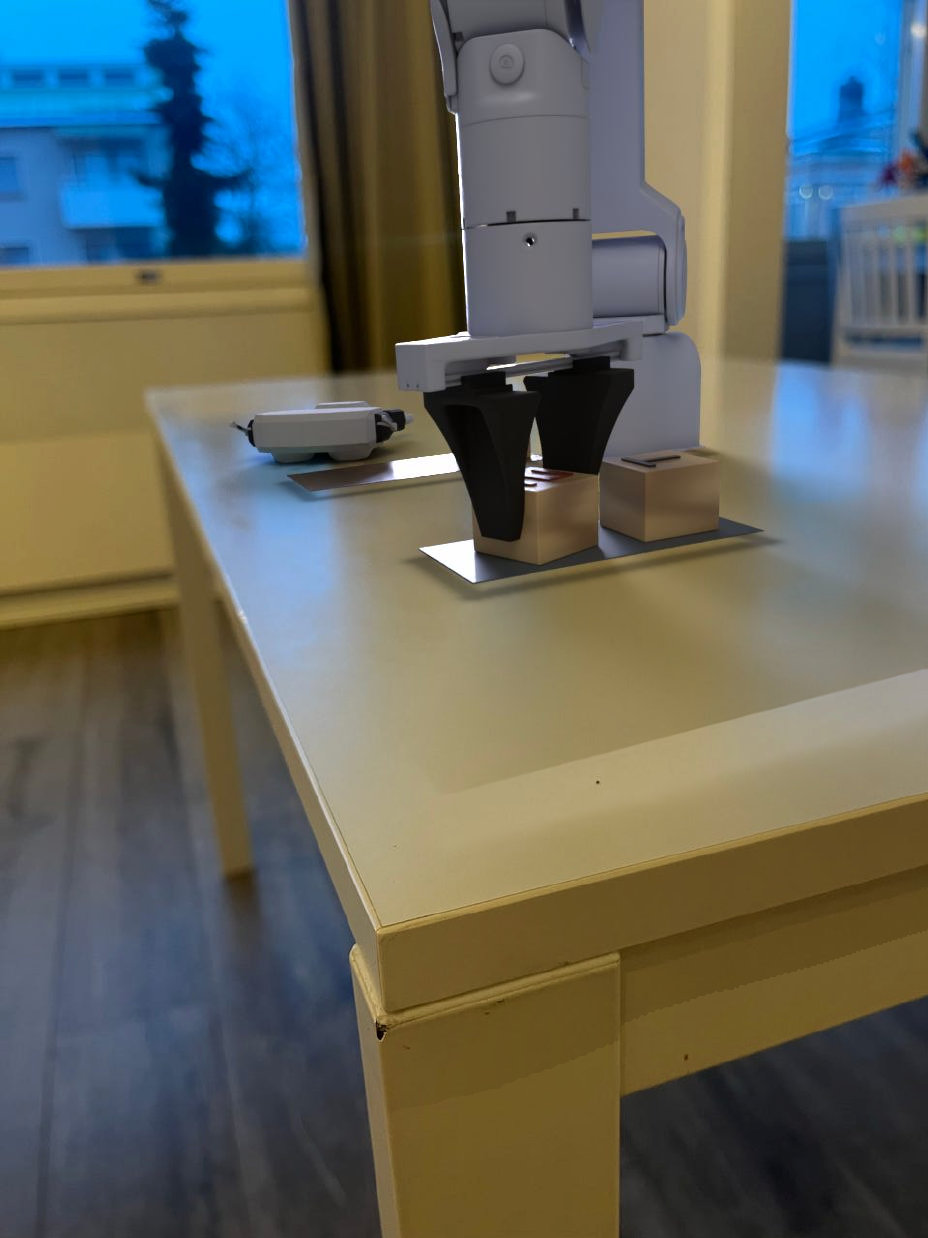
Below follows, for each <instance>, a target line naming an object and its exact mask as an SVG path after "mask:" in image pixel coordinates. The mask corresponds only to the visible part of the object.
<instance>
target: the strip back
mask: <svg viewBox="0 0 928 1238" xmlns="http://www.w3.org/2000/svg"><path fill="white" fill-rule="evenodd" d="M539 461H542V455H537V454H535V453H531V457H529V458H527V459H526V463H533V462H539ZM458 472H461V471H460V469H459V467H458V464H457V462H456V460H455V458H454V456H453V453H448V454H447V453H446V454H440V455H432V456H423V457H417V458H409V459H400V460H393V461H385V462H377V463H370V464H369V463H368V464H363V465H362V464H361V465H354V466H353V465H352V466H347V467H339V468H338V467H337V468H329V469H324V470H316V471H308V472H300V473H290V474H286V477H287V478H289V479H291V480H292V481H293V482H294V483H296V484H298V485H300V487H302V488H304V489H305V490H307V491H308V492H310V493H311V492H319V491H326V490H335V489H341V488H348V487H355V486H356V487H357V486H364V485H371V484H378V483H384V482H385V483H386V482H392V481H400V480H408V479H415V478H421V477H423V478H424V477H428V476H429V477H431V476H437V475H444V474H451V473H458Z"/></svg>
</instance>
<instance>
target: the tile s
mask: <svg viewBox="0 0 928 1238" xmlns="http://www.w3.org/2000/svg"><path fill="white" fill-rule="evenodd" d="M470 505H471V522H472V523H471V524H472V540H473V544H474V551H476V552H480V553H485V554H489V555H494V556H498V557H503V558H507V559H512V560H516V561H521V562H525V563H530V564H534V565H539V566H540V565H543V564H546V563H549V562H551V561H554V560H557V559H560V558H563V557H566V556H569V555H572V554H575V553H577V552H580V551H583V550H586V549H589V548H592V547H595V546H598V545H599V519H600V512H599V475H598V476H597V475H591V474H584V473H576V472H568V471H560V470H552V469H544V468H543V467H537V466H529V467H525V510H524V520H523V527H522V533H521V538H520V539H519V540H516V541H513V542H506V541H501V540H496V539H492V538H487V537H482V536H481V533H480V529H479V526H478V523H477V519H476V516H475V513H474V509H473V506H472V503H471V502H470Z"/></svg>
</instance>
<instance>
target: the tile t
mask: <svg viewBox="0 0 928 1238" xmlns="http://www.w3.org/2000/svg"><path fill="white" fill-rule="evenodd" d="M721 465H722V463H721V461H719V460H716V459H711V458H708V457H707V458H706V457H702V456H698V455H694V454H690V453H685V452H682V451H677V452H676V451H672V450H666V451H658V452H651V453H644V454H637V455H630V456H623V457H615V458H608V459H602V463H601V467H600V470H599V474H598V512H599V519H600V525H601V526H604V527H606V528H609V529H612V530H614V531H617V532H619V533H622V534H624V535H627V536H630V537H632V538H635V539H637V540H640V541H642V542H645V543H646V542H652V541H657V540H663V539H669V538H674V537H680V536H686V535H691V534H697V533H702V532H708V531H714V530H718V529H719V517H720V500H721V499H720V497H721V468H722V467H721Z"/></svg>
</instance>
